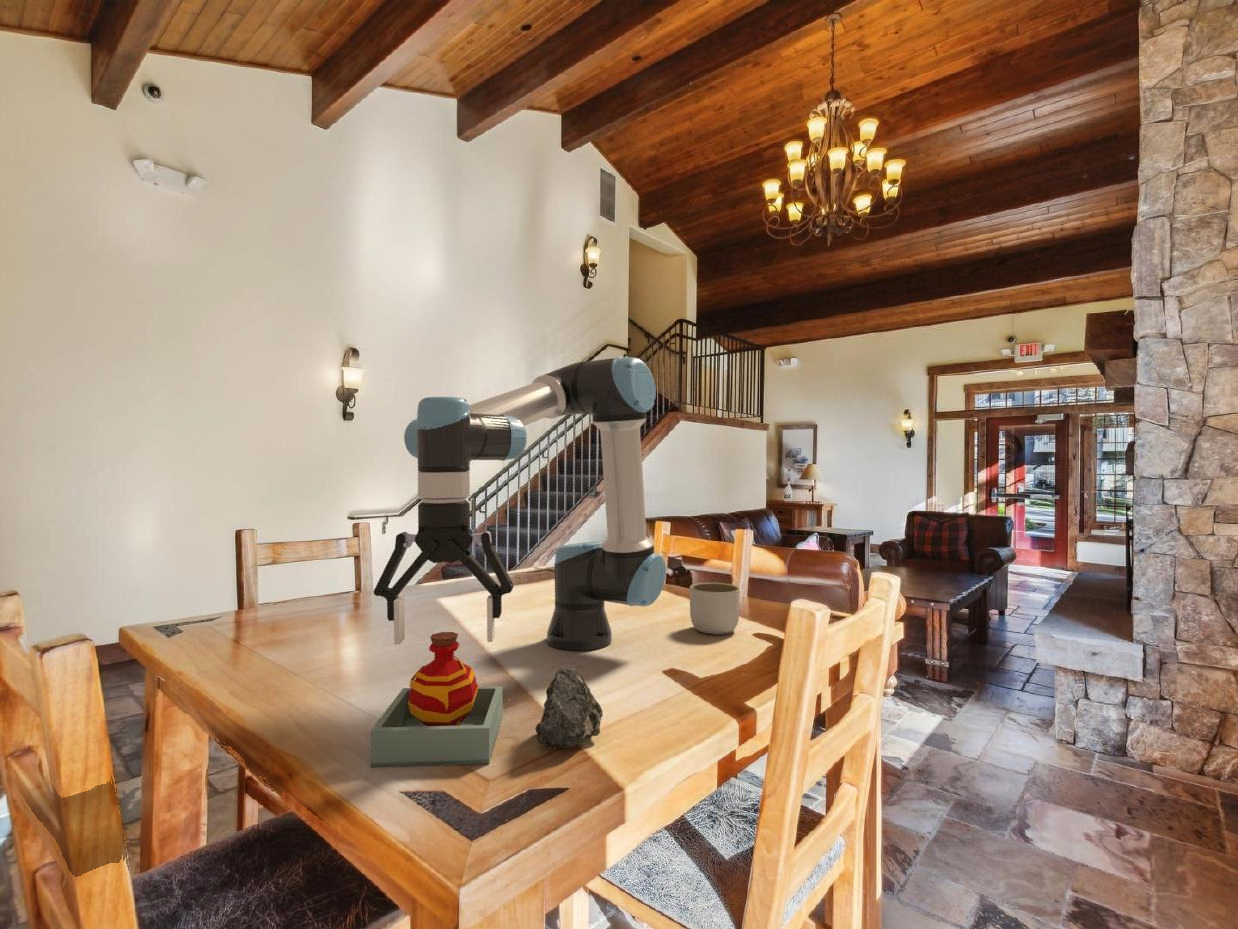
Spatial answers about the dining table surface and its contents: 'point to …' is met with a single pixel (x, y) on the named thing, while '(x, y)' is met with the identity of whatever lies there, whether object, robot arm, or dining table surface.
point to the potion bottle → (443, 685)
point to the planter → (714, 607)
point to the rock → (568, 711)
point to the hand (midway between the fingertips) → (445, 640)
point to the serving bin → (437, 734)
